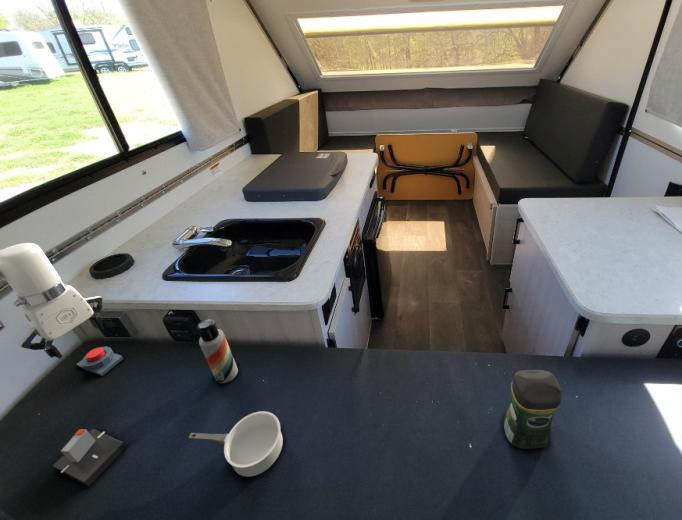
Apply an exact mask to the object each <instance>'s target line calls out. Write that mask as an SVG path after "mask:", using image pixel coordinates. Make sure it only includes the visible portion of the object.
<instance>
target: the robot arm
mask: <svg viewBox="0 0 682 520" xmlns="http://www.w3.org/2000/svg"><path fill="white" fill-rule="evenodd" d="M1 281H6V282H7V283H8V285H9V286H10V288H11V289H12V290H13V292H14V293H15V294H16V297H17V299H16V300H15V301H13V302H12V305H13V306H14V307H15V308H19V307H20V306H21V308H22V311H23V314H24V316H25V318H26V320H27V322H28V324H29V326H30V327H31V329H29V331H28V332H27V333H26V334H25V335H24V337H23V338H22V339H20V341H19V342H18V344H17V346H18V347H20V348H23V349H26V350H27V349H28V350H32V351H42V350H43V351H44V352H45V353H46V354H47V356H48V357H50V358H51V359H53V358H57V359H59V360H60V359H62V357H63V354H62V353H61V352H60V350H59V349H58V348H57V347H56V346H55V345H53V342H54V340H57V339H59V338H61V337H62V336H64V335H65V334H67V333H68V332H70V331H71V330H72V331H73V329H75V328H77V327H78V326H80V325H81V324H83V323H84V322H86V321H87V320H88V321H89V322H90V323H91V325H92V327H93V328H94V329H97V330H100V331H103V330H104V329H105V328H104V327H105V326H103V324H104V322H103V320H102V318H101V317H100V316H101V311H102V309H103V299H104V298H103V296H101V295H97V296H92V297H86V298H84V297H83V296H82V295H81V293H79V291H78V290H77V289H76V288H74V287H73V286H72V285H69V284H65V282H64V281H63V279H62V278H61V276H60V275H59V274H58V272H57V270H56V269H55V268H54V266H53V264H52V263H51V261H50V260H49V258H48V257H47V255H46V253H45V252H44V251H43V249H42V248H41V247H40V246H39V245H38V244H37V243H34V242H22V243H18V244H17V243H16V244H13V245H10V246H8V247H5V248H2V249H0V282H1ZM90 304H93V306H92V307H91V305H90ZM37 336H38V337H39V340H38V342H33V340H34V339H35V338H36V337H37Z"/></svg>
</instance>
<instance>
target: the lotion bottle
mask: <svg viewBox="0 0 682 520" xmlns="http://www.w3.org/2000/svg"><path fill="white" fill-rule="evenodd" d="M196 328H197V331H198V333H199V336H200V337H199V341H198V344H199V346H200V349H201V351H202V353H203V356H204V357H205V360H206V363H207V364H208V366H209V369H210V371H211V373H212V375H213V378H214V379H215V382H217V383H219V384H226V383H229V382H232V380H234V378H236V376H237V375H238V373H239V369H238V366H237V363H236V360H235V358H234V356H233V353H232V350H231V348H230V345H229V342H228V341H227V337H226V335H225V333H224V331H223V330H222V329H220V328H219V329H218V326H217V324H216V322H215V320H214V319H206V320H203V321H201V322H199V323H198V324H197V327H196Z"/></svg>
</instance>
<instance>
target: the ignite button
mask: <svg viewBox="0 0 682 520" xmlns="http://www.w3.org/2000/svg"><path fill="white" fill-rule="evenodd" d="M104 355H105V352H104V351H103V349H102V348H100V347H95V348H93V349H91V350H90V351H88V352H87V353H86V354H85V356H86V357H87V359H88V360H89V361H90V362H95V361H97V360H99V359H101V358H102V357H103V356H104Z"/></svg>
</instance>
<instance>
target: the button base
mask: <svg viewBox="0 0 682 520" xmlns="http://www.w3.org/2000/svg"><path fill="white" fill-rule="evenodd" d="M99 348H102V349H103V351H104V352H105V355H104V356H103V357H102V358H101V359H99V360H97V361H95V362H90V361H89V360H88V359H87V357H86V355H85V356H84V357H83V358H82V360H80V361H79V362H77V363H76V366H77V367H78V368H80V369H83V370H85V371H88V372H90V373H92V374H95V375H98V376H101V377H103V376H104V375H106V374H107V373H108V372H109V371H110V370H112V369H113V368H114V367H115V366H117V365H118V364H119V363H120V362H122V361H123V360H124V359H125V358H124V357H123V355H121V354H118V353H114V351H113V350H112V348H111V347H109V346H100V347H99Z"/></svg>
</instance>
